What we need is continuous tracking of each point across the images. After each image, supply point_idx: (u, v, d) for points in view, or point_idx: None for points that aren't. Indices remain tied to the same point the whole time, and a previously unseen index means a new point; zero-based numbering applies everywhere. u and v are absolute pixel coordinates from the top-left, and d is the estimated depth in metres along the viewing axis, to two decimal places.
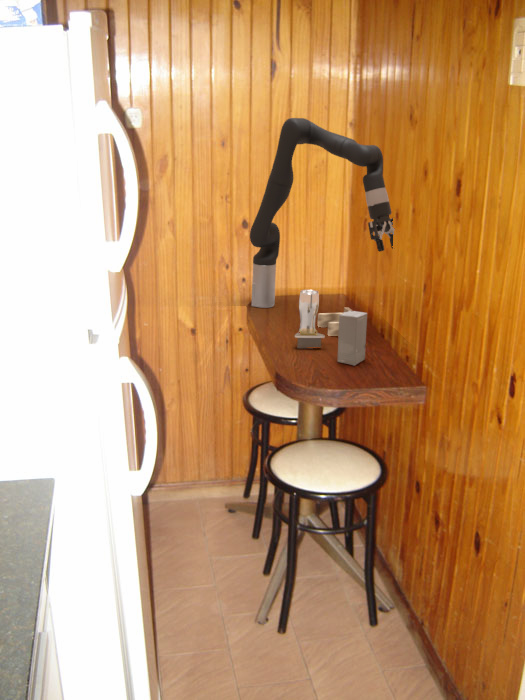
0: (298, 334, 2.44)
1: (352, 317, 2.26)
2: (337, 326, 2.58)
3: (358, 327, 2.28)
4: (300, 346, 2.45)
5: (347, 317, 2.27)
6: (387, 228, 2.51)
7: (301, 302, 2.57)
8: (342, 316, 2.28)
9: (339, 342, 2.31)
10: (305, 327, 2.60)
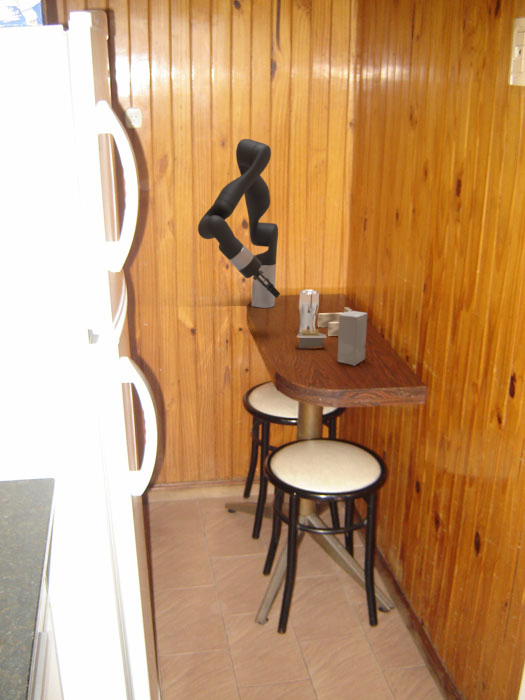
0: (300, 334, 2.44)
1: (352, 317, 2.26)
2: (337, 326, 2.58)
3: (358, 327, 2.28)
4: (302, 346, 2.45)
5: (347, 317, 2.27)
6: None
7: (301, 302, 2.57)
8: (342, 316, 2.28)
9: (339, 342, 2.31)
10: (305, 327, 2.60)
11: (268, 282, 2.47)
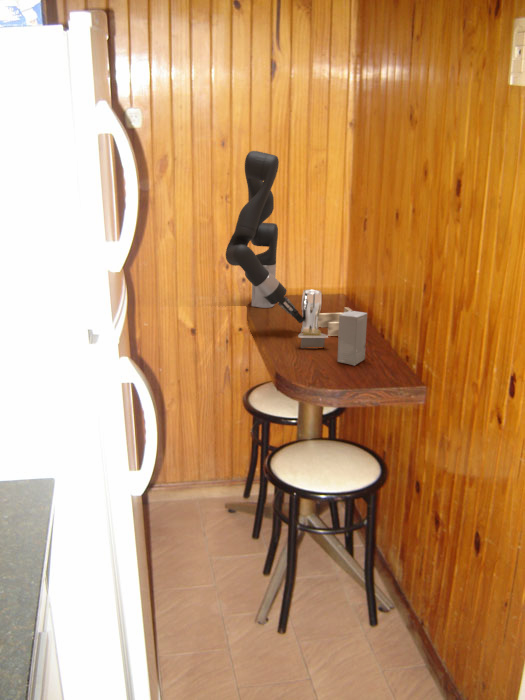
0: (301, 334, 2.45)
1: (352, 317, 2.26)
2: (337, 326, 2.58)
3: (358, 327, 2.28)
4: (303, 346, 2.45)
5: (347, 317, 2.27)
6: None
7: (304, 302, 2.57)
8: (342, 316, 2.28)
9: (339, 342, 2.31)
10: (308, 327, 2.60)
11: (293, 309, 2.53)
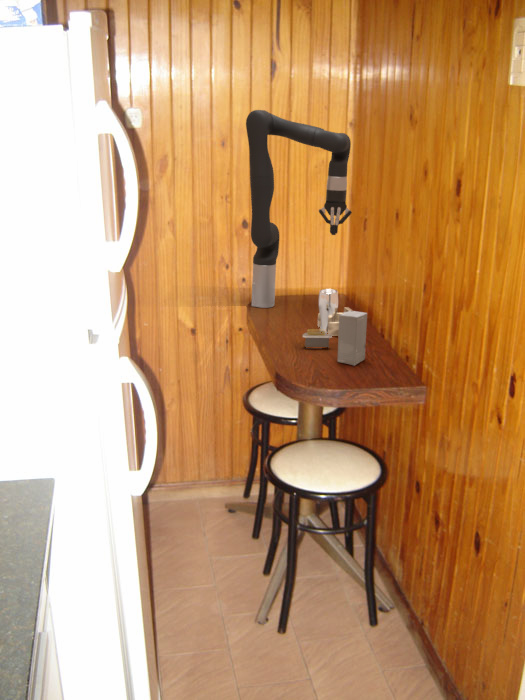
0: (306, 334, 2.45)
1: (352, 317, 2.26)
2: (337, 326, 2.58)
3: (358, 327, 2.28)
4: (308, 346, 2.45)
5: (347, 317, 2.27)
6: None
7: (319, 301, 2.59)
8: (342, 316, 2.28)
9: (339, 342, 2.31)
10: (324, 326, 2.62)
11: (320, 213, 2.76)
